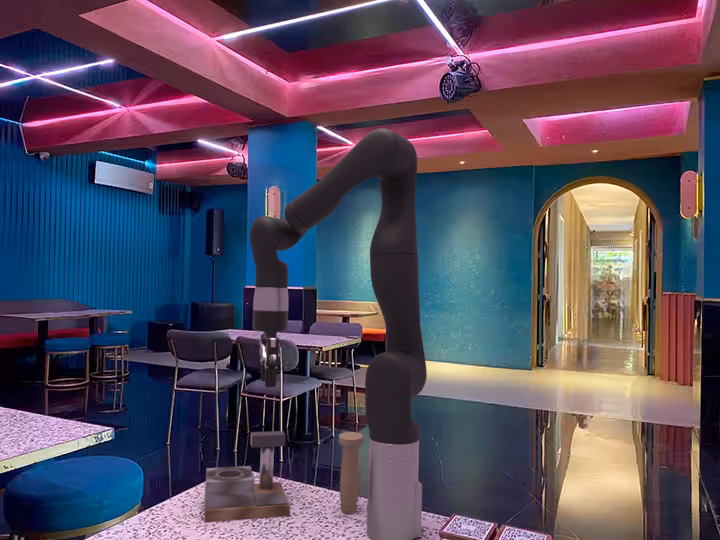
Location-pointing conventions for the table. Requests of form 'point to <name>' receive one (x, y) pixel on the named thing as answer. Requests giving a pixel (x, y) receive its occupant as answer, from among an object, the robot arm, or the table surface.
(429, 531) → the table surface
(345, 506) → the handle
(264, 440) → the hammer
